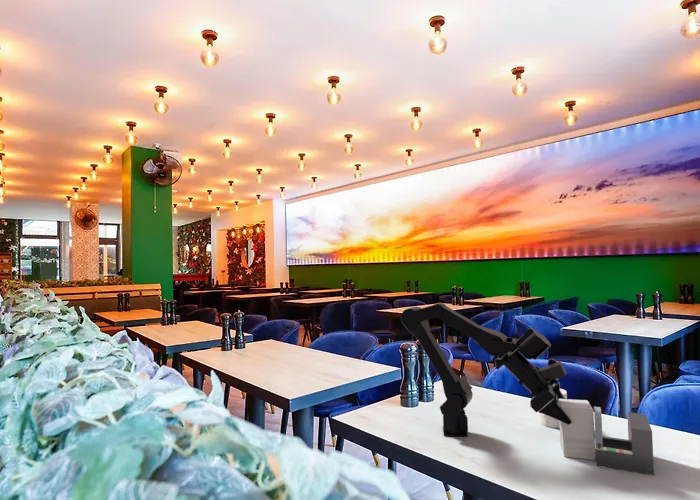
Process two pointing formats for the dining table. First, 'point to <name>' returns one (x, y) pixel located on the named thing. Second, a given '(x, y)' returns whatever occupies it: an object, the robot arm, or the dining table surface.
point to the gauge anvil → (629, 448)
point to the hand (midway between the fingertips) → (571, 417)
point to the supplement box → (577, 429)
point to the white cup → (549, 420)
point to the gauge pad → (598, 427)
